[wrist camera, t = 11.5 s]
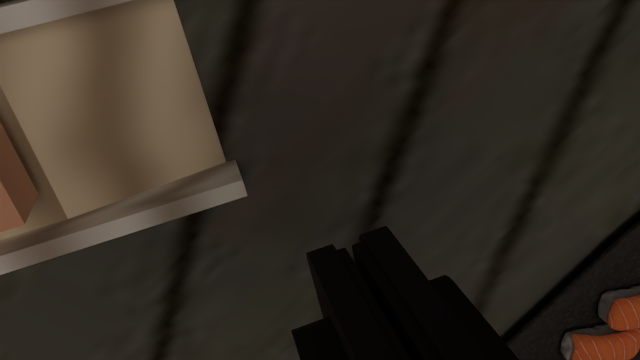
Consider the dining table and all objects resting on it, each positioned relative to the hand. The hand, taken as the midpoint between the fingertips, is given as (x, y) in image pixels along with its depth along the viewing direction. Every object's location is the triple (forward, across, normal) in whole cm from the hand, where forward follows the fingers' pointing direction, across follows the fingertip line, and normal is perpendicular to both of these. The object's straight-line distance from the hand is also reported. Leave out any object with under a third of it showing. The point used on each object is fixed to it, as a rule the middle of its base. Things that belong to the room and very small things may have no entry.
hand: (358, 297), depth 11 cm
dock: (+21, +11, 0) cm, 24 cm away
